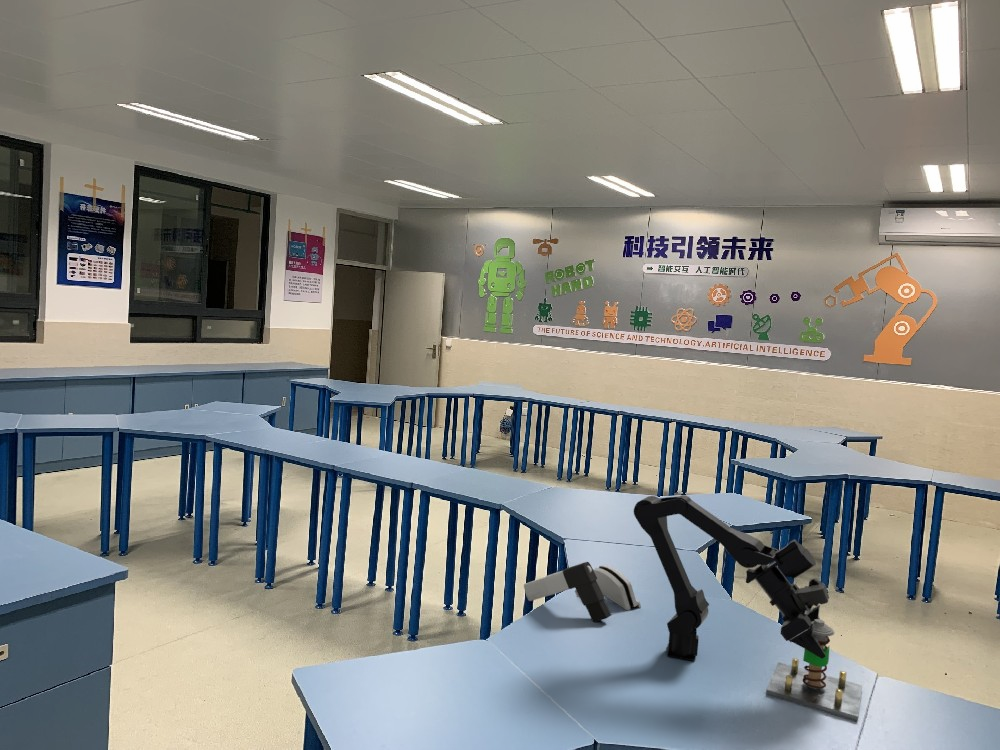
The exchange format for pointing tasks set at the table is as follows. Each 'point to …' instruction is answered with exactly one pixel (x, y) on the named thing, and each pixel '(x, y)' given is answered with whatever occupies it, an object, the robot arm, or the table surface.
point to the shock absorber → (814, 661)
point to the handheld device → (568, 579)
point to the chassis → (816, 691)
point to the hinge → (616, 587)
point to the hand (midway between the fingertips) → (826, 649)
